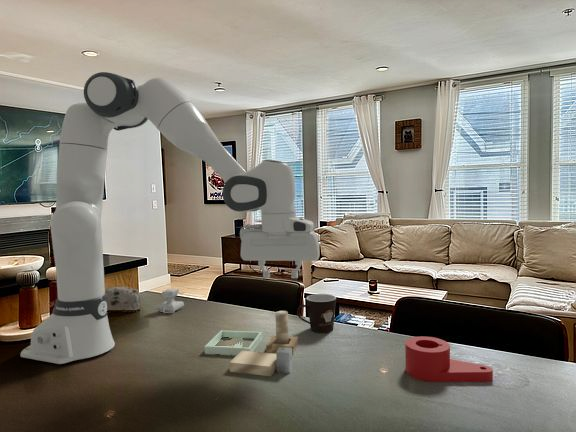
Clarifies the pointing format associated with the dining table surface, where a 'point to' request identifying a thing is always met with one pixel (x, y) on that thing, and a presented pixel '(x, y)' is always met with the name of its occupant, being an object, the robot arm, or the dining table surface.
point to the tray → (234, 350)
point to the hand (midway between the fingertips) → (280, 277)
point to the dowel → (282, 327)
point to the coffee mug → (320, 312)
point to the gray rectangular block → (284, 359)
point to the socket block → (273, 347)
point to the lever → (440, 363)
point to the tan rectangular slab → (254, 363)
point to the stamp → (170, 301)
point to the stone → (122, 298)
